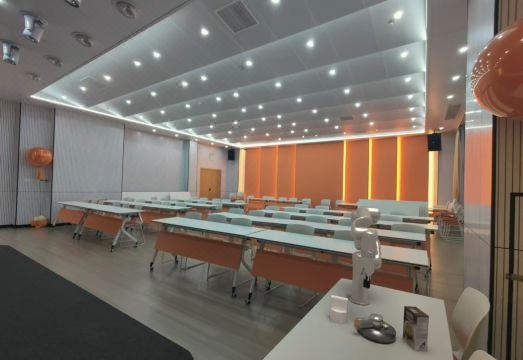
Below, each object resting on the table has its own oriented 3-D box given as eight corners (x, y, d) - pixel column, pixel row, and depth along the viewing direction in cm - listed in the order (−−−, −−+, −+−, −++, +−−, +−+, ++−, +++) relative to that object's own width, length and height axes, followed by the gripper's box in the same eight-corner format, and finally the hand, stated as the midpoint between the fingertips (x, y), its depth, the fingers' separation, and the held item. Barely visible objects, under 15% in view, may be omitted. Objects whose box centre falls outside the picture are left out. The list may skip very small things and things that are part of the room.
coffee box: (401, 338, 125) (403, 305, 125) (414, 338, 125) (415, 305, 125) (414, 351, 116) (416, 315, 116) (428, 351, 116) (429, 315, 116)
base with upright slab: (329, 321, 137) (330, 299, 137) (330, 314, 145) (331, 292, 146) (346, 325, 134) (348, 302, 134) (347, 317, 142) (348, 296, 143)
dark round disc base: (351, 332, 128) (351, 323, 128) (364, 319, 141) (364, 311, 141) (389, 349, 116) (390, 340, 116) (400, 333, 129) (400, 325, 129)
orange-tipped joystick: (377, 323, 132) (377, 313, 132) (385, 329, 126) (385, 319, 126) (351, 325, 129) (352, 314, 129) (358, 331, 123) (359, 321, 123)
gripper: (366, 249, 145) (364, 281, 146) (355, 254, 134) (354, 289, 134) (380, 252, 140) (378, 285, 141) (370, 258, 129) (368, 294, 129)
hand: (366, 287), depth 137 cm, fingers closed
